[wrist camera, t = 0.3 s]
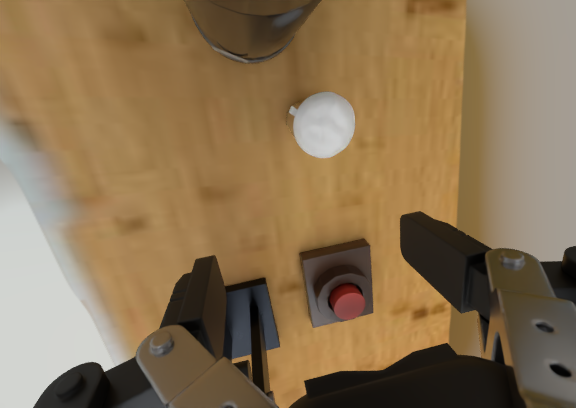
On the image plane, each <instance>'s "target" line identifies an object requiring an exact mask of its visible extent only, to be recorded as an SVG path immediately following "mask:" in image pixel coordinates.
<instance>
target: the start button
mask: <svg viewBox="0 0 576 408" xmlns="http://www.w3.org/2000/svg"><path fill="white" fill-rule="evenodd" d="M329 300H330V304H331V306H332V308H333V310H334V313H335V314H336V316H337V317H339V318H341V319H344V320H349V319H353V318H355V317H357V316H359V315H360V314H361V313H362V312H363V310H364V308H365V299H364V297H363V296H362V294H361V292H360V291H359V289H358V288H357V287H356V286H355V285H353V284H350V283H345V284H341V285H339V286H337V287H336V288H334V289H333V291H332V292H331V294H330V298H329Z"/></svg>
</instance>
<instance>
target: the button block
mask: <svg viewBox="0 0 576 408" xmlns="http://www.w3.org/2000/svg"><path fill="white" fill-rule="evenodd" d="M300 260H301V266H302V272H303V278H304V285H305V291H306V297H307V303H308V310H309V316H310V320H311V323H312V326H313V328H315V327H319V326H323V325H327V324H331V323H335V322H342V321H347V320H344V319H341V318H339V317H337V316H336V314H335V313H334V310H333V308H332V306H331V304H330V300H329V298H330V294H331V292H332V291H333V289H334V288H336V287H337V286H339V285H341V284H345V283H350V284H353V285H355V286H356V287H357V288H358V289H359V291H360V292H361V294H362V296H363V297H364V299H365V308H364V310H363V312H362V313H361V314H360V315H359V316H363V315H367V314H371V313H373V294H372V275H371V256H370V245H369V244H368V243H367V242H366V241H365V239H361V240H357V241H352V242H348V243H343V244H338V245H334V246H329V247H325V248H320V249H316V250H311V251H307V252H302V253H300ZM359 316H357V317H359ZM355 318H356V317H355ZM353 319H354V318H353ZM349 320H351V319H349Z"/></svg>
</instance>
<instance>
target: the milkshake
mask: <svg viewBox="0 0 576 408" xmlns="http://www.w3.org/2000/svg"><path fill="white" fill-rule="evenodd" d="M286 125H287V127H288V128H289V130H290V132H291V134H292V135H293V136H294V138H295V140H296V141H297V143H298V145H299V146H300V147H301V149H302V150H303V151H305V152H306V153H308V154H309V155H311V156H314V157H317V158H329V157H332V156H334V155H336V154H338V153H339V152H341V151H342V150H343V149H345V148H346V147H347V145H348V144H349V142H350V140H351V138H352V136H353V133H354V129H355V116H354V111H353V108H352V106H351V105H350V103H349V102H348V101H347V100H346V99H345V98H343V97H342V96H340V95H338V94H336V93H333V92H320V93H316V94H314V95H311V96H309V97H308V98H307V99H305V100H303V101H301V102H299V103H296V104H294V105H293V106H291V108H290V110H289V111H288V112H287V117H286Z"/></svg>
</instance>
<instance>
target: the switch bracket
mask: <svg viewBox="0 0 576 408" xmlns="http://www.w3.org/2000/svg"><path fill="white" fill-rule="evenodd" d="M225 290H226V297H227V304H226V317H225V330H224V342H223V355H222V356H223V357H226V358H227V359H228V360H229V361H231V362H232V359H234V358H238V357H242V356H246V355H250V354H251V356H252V382H253V383H254V384H255V385H256V386H257V387H258V388H259V389H260V390H261V391H262V392H263V393H264V394H265V395H266V396H268V397H269V398H270V399H271V400H272V401H273V402H274V403H275V398H274V393H273V391H270V383H269V373H268V363H267V353H266V350H270V349H274V348H278V347H280V343H279V337H278V333H277V328H276V324H275V319H274V315H273V310H272V306H271V301H270V297H269V292H268V288H267V283H266V279H265V278H262V279H258V280H253V281H249V282H244V283H240V284H236V285H231V286H227V287H225Z"/></svg>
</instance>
